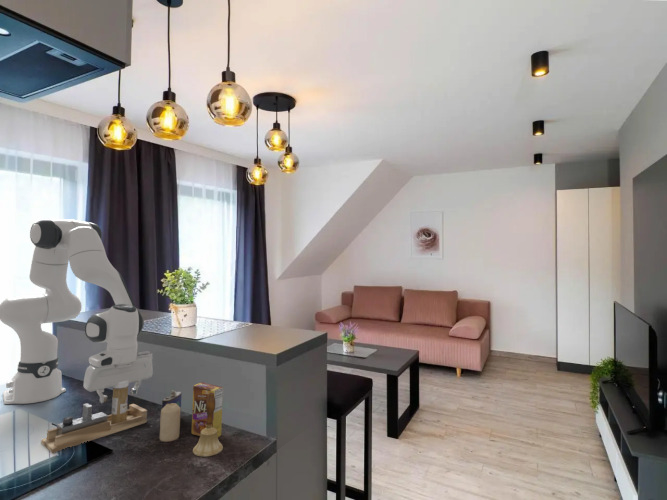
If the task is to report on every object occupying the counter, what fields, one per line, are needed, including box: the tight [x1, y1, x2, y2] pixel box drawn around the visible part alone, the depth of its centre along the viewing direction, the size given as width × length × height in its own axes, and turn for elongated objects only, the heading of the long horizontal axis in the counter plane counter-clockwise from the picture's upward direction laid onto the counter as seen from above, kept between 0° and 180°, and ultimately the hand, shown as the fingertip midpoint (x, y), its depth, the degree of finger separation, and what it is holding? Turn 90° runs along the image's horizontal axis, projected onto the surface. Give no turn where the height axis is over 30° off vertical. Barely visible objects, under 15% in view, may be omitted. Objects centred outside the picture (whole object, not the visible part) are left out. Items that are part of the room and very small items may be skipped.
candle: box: [159, 403, 182, 443], centre depth 113 cm, size 6×6×10 cm
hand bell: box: [192, 393, 224, 458], centre depth 107 cm, size 8×8×16 cm
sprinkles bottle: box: [111, 381, 130, 424], centre depth 120 cm, size 5×5×13 cm
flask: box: [161, 389, 182, 419], centre depth 123 cm, size 9×3×11 cm, turn 171°
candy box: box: [191, 381, 224, 438], centre depth 116 cm, size 9×4×15 cm, turn 65°
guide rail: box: [40, 403, 148, 454], centre depth 115 cm, size 9×26×4 cm, turn 144°
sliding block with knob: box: [56, 402, 108, 436], centre depth 112 cm, size 4×12×8 cm, turn 144°
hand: (118, 398), depth 121 cm, fingers open, 8 cm apart
